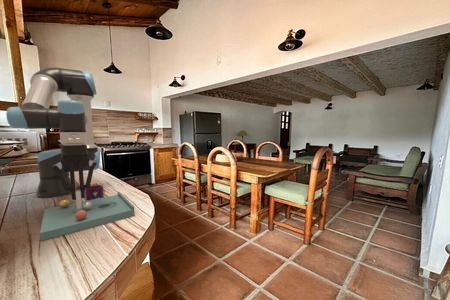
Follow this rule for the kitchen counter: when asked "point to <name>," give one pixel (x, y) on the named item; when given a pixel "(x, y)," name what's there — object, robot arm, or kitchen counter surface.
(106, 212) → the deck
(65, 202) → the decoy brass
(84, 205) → the steel ball
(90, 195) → the mug
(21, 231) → the kitchen counter surface
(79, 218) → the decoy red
